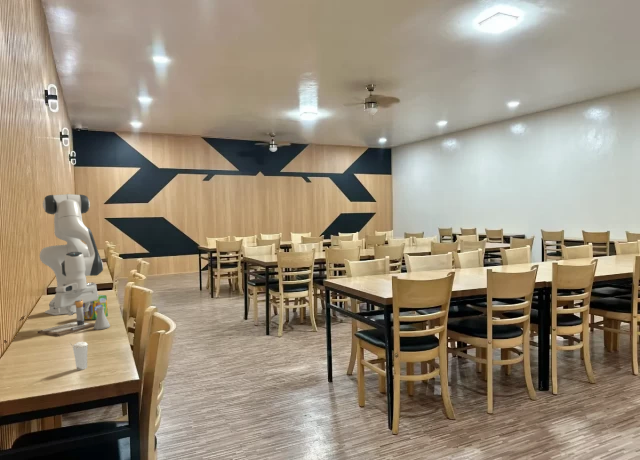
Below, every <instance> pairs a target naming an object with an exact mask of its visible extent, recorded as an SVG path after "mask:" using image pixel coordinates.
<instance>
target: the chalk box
mask: <svg viewBox="0 0 640 460" xmlns="http://www.w3.org/2000/svg"><path fill="white" fill-rule="evenodd" d="M85 306H86V304H85V303H83V308H85ZM98 307H104V313H105V316H106V317H108V316H109V315H108V300H107V295H103V294H98V300H96V301H91V302H90V306H89V308H88V310H89V311H87V312H84V309H83V314H84V321H85V320H95V321H96V318H97V313H98V311H97V308H98Z"/></svg>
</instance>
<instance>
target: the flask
mask: <svg viewBox="0 0 640 460" xmlns="http://www.w3.org/2000/svg"><path fill="white" fill-rule="evenodd" d="M97 311H98V313H97V318H96V320H95V322H94V323H95V325H94V327H92V329H93V330H98V331H99V330H105V329H108V328H110V327H111V324H110V323H109V320H108V318H107V316H105V313H104V307H98V308H97Z"/></svg>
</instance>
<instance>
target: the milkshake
mask: <svg viewBox="0 0 640 460" xmlns="http://www.w3.org/2000/svg"><path fill="white" fill-rule="evenodd" d="M70 345H71V346H72V351H73V354H74V355H73V356H74V360H75V367H76V370H77V371H83V370H86V369H87V368H88V351H89V350H88V347H89V346H88V345H89V343H87V342H86V341H78V342H76V343H74V344H73V345H72V343H70Z"/></svg>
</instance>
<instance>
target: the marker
mask: <svg viewBox="0 0 640 460" xmlns="http://www.w3.org/2000/svg"><path fill="white" fill-rule="evenodd" d="M75 303H76V312H75V313H76V315H75V316H76V321H77V325H84V322H85V320H84V314H83V300H77V301H75Z"/></svg>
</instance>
